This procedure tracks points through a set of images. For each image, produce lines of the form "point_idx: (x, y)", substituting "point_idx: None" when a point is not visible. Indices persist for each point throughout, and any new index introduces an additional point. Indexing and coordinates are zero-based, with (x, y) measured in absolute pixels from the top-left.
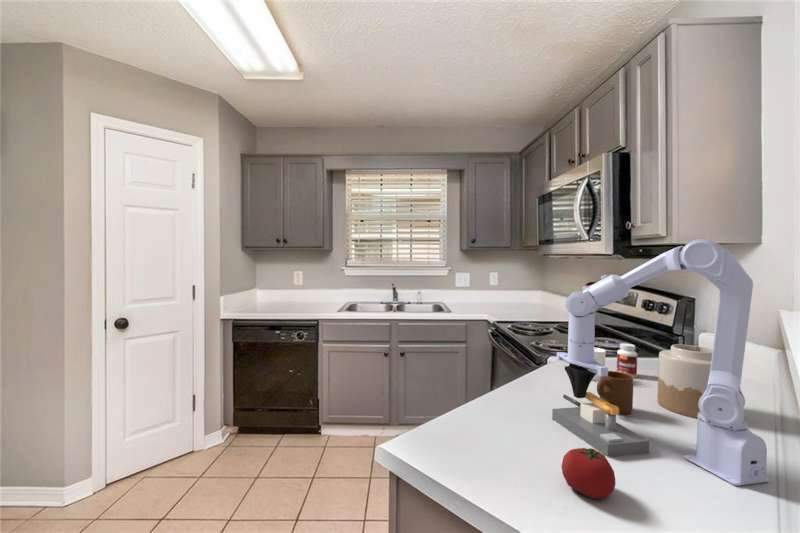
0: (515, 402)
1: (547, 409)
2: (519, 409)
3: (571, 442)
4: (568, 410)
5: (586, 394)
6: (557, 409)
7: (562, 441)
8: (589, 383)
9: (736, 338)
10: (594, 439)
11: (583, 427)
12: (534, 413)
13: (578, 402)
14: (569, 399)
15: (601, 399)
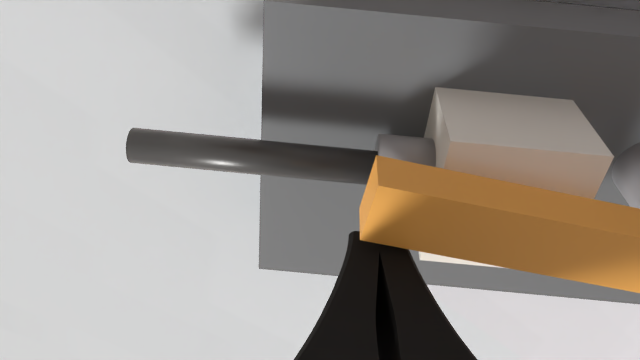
0: (15, 261)
1: (125, 162)
2: (123, 293)
3: (519, 303)
4: (305, 201)
5: (411, 244)
6: (273, 249)
7: (493, 326)
8: (461, 342)
9: None
10: None
11: (538, 285)
12: (182, 260)
13: (317, 174)
14: (218, 170)
15: (590, 238)
